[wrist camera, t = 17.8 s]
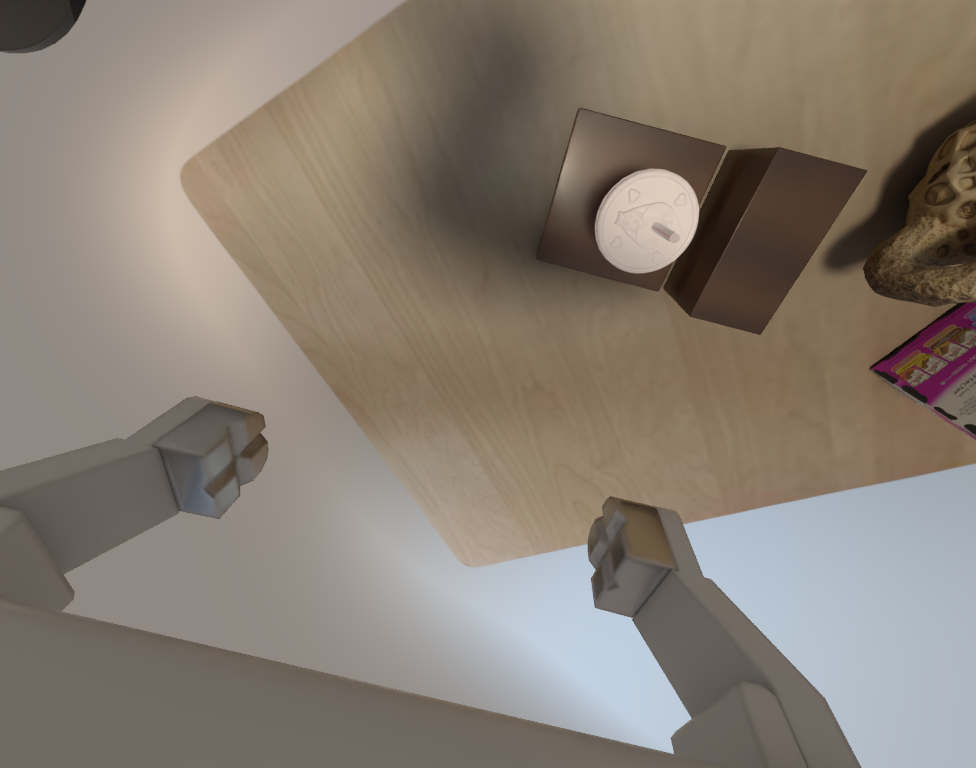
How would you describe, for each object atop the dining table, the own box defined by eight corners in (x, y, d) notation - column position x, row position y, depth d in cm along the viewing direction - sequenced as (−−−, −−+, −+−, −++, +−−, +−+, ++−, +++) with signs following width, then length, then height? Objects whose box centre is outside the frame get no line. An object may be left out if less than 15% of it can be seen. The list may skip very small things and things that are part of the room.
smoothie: (642, 254, 35) (694, 304, 23) (573, 238, 35) (589, 279, 23) (673, 176, 32) (753, 185, 20) (597, 158, 32) (630, 157, 20)
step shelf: (577, 110, 32) (586, 96, 25) (798, 168, 32) (868, 170, 25) (536, 255, 38) (534, 275, 31) (721, 303, 38) (760, 335, 31)
